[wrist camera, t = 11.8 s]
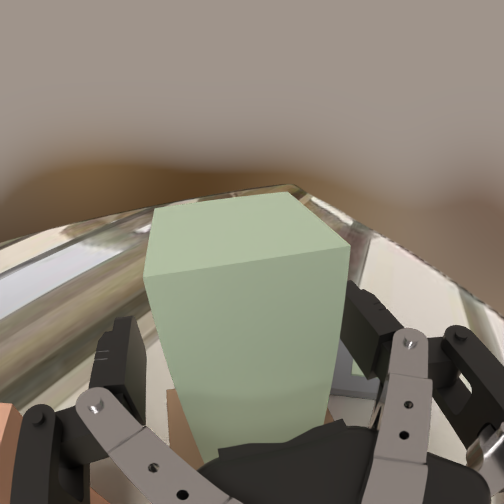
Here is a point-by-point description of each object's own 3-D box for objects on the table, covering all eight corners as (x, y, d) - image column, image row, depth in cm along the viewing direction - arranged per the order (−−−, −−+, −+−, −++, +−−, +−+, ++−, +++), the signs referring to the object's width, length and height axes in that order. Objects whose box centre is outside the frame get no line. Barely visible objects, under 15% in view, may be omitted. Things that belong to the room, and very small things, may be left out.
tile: (312, 391, 23) (313, 383, 23) (327, 328, 30) (328, 320, 30) (409, 402, 21) (413, 394, 20) (406, 337, 28) (409, 329, 27)
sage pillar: (214, 486, 12) (142, 277, 7) (201, 411, 17) (154, 208, 11) (313, 464, 13) (350, 245, 8) (285, 395, 18) (287, 191, 12)
